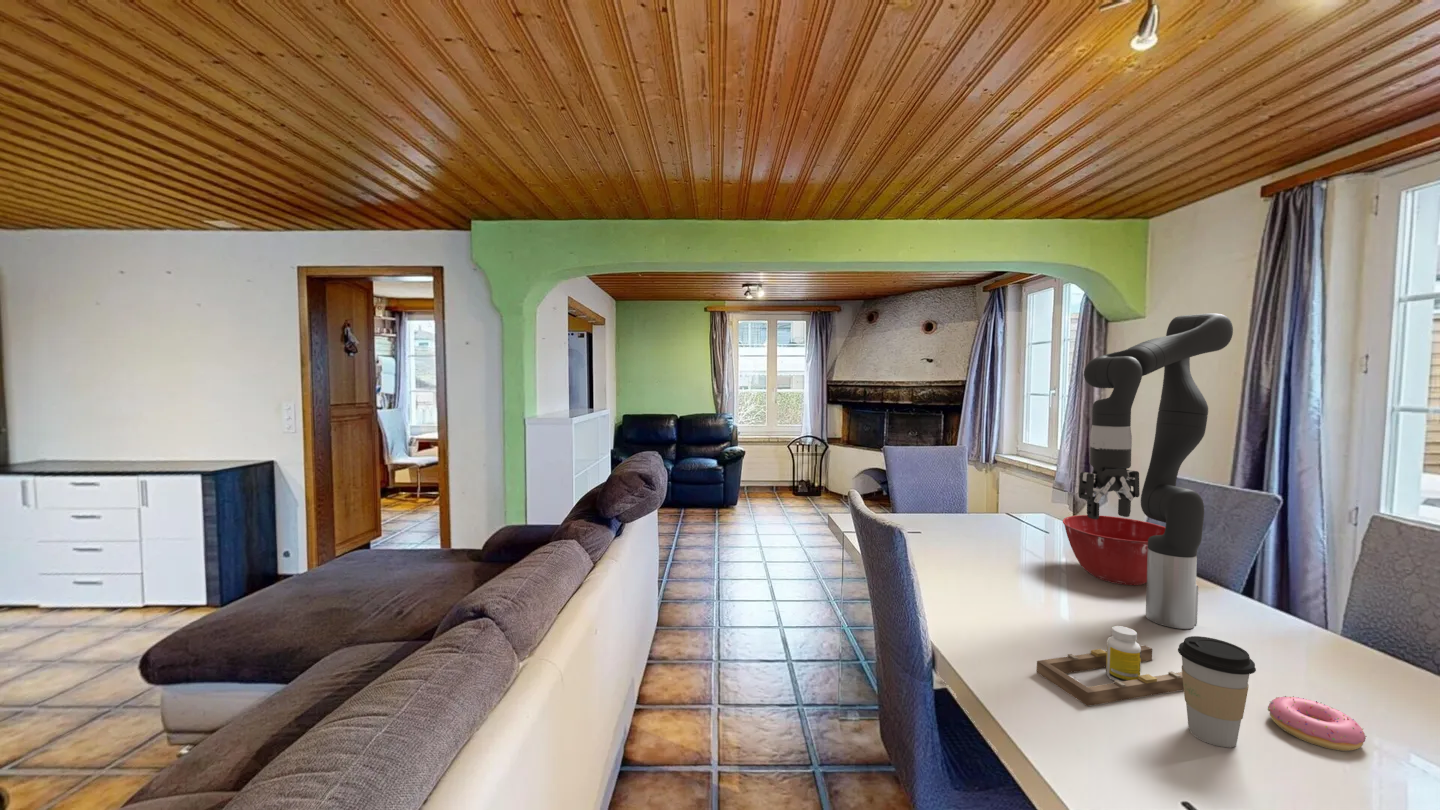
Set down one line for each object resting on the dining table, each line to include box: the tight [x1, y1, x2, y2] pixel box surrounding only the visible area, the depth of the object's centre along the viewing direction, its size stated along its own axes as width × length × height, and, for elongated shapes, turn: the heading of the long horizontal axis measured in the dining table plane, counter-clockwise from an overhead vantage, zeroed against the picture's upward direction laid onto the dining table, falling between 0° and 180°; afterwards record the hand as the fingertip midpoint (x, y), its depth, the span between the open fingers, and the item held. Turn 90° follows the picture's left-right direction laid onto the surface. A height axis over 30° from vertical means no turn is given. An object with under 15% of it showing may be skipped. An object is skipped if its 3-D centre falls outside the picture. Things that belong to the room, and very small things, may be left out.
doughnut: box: [1267, 695, 1367, 752], centre depth 90 cm, size 11×11×4 cm
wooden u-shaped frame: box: [1036, 645, 1184, 707], centre depth 106 cm, size 28×12×3 cm, turn 103°
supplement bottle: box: [1105, 625, 1142, 682], centre depth 106 cm, size 5×5×10 cm
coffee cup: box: [1177, 635, 1257, 748], centre depth 89 cm, size 9×9×15 cm
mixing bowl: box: [1062, 514, 1166, 586], centre depth 161 cm, size 28×28×16 cm
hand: (1108, 517), depth 121 cm, fingers open, 8 cm apart
